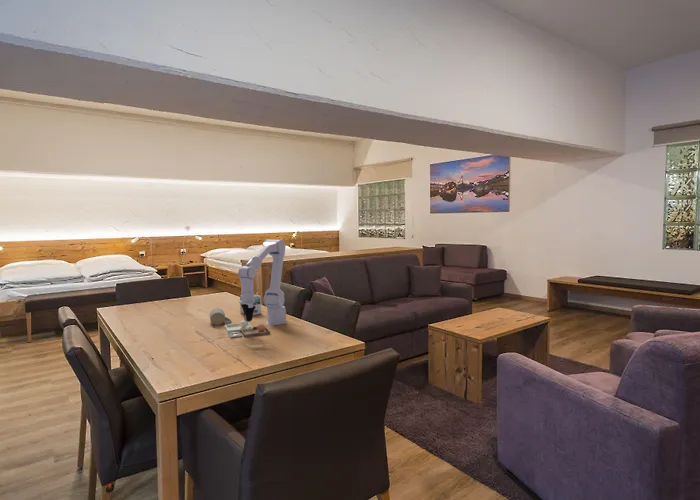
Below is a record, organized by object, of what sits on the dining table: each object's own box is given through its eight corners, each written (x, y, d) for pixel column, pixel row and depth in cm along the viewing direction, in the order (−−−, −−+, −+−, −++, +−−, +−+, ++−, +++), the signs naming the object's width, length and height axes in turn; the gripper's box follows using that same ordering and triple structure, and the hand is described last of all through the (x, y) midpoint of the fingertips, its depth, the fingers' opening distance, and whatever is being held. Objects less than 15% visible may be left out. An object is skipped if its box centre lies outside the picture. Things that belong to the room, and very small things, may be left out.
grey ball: (251, 320, 199) (251, 312, 199) (253, 322, 196) (253, 314, 195) (243, 321, 198) (243, 313, 197) (244, 323, 194) (244, 315, 194)
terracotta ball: (264, 330, 202) (264, 322, 202) (266, 332, 199) (266, 324, 198) (256, 331, 201) (255, 323, 200) (257, 333, 197) (257, 325, 197)
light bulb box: (261, 313, 239) (261, 295, 238) (253, 315, 233) (252, 297, 232) (248, 311, 245) (248, 293, 244) (239, 313, 239) (239, 295, 238)
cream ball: (247, 326, 209) (246, 318, 208) (248, 328, 205) (248, 320, 205) (239, 327, 207) (238, 319, 207) (240, 329, 203) (240, 321, 203)
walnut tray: (264, 328, 206) (264, 325, 206) (270, 335, 195) (270, 331, 195) (240, 331, 201) (240, 328, 201) (244, 338, 190) (244, 334, 190)
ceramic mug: (210, 326, 211) (210, 312, 210) (209, 322, 218) (209, 308, 218) (231, 325, 214) (231, 310, 214) (230, 321, 222) (230, 307, 221)
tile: (239, 333, 198) (239, 331, 198) (241, 338, 191) (241, 335, 191) (228, 334, 196) (228, 332, 196) (230, 339, 189) (230, 336, 189)
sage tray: (248, 325, 213) (248, 322, 213) (253, 331, 202) (253, 327, 202) (224, 328, 208) (224, 324, 208) (228, 334, 197) (227, 330, 197)
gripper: (236, 289, 200) (237, 317, 202) (241, 294, 187) (242, 324, 188) (251, 288, 203) (251, 315, 204) (257, 293, 190) (257, 322, 191)
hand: (248, 319), depth 197 cm, fingers closed on grey ball, 4 cm apart
